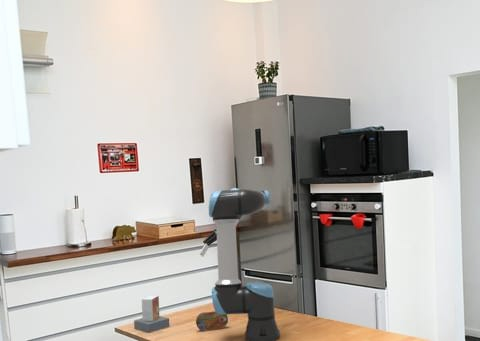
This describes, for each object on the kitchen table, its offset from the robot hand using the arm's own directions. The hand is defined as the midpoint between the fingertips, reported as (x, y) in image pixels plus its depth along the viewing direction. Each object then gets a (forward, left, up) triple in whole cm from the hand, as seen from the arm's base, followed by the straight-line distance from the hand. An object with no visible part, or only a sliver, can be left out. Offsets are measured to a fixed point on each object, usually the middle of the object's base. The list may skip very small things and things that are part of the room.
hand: (210, 255), depth 246 cm
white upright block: (+13, +28, -28) cm, 42 cm away
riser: (+13, +28, -32) cm, 44 cm away
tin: (-14, +13, -32) cm, 37 cm away
